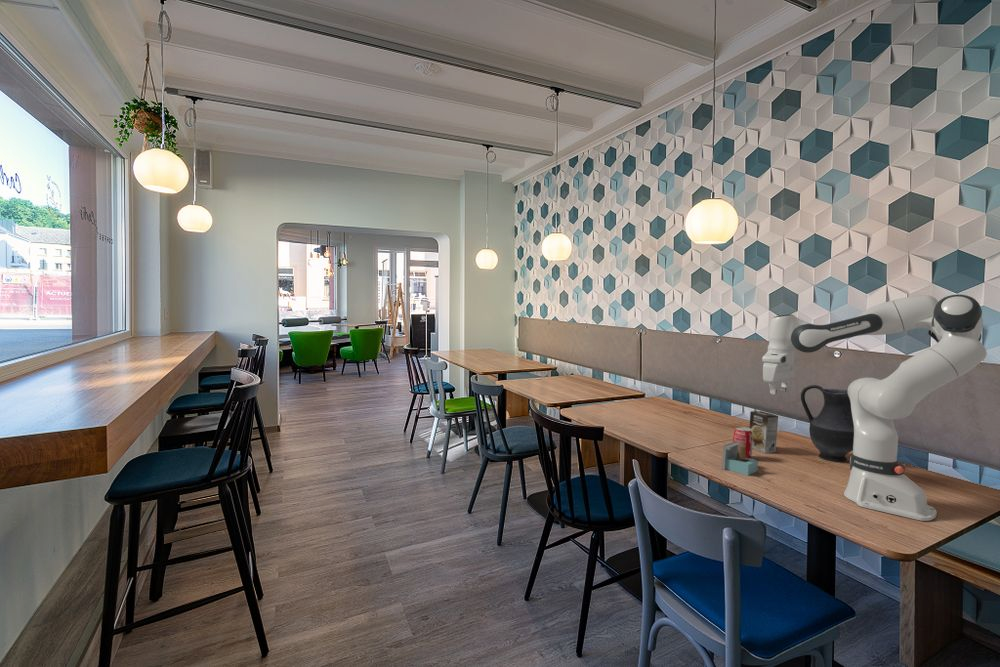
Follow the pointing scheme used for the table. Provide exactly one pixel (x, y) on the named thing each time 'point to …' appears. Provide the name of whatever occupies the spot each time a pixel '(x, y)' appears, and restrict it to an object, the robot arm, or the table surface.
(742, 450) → the peg
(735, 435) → the soda can
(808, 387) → the pitcher
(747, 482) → the table surface
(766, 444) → the coffee box
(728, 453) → the socket station
